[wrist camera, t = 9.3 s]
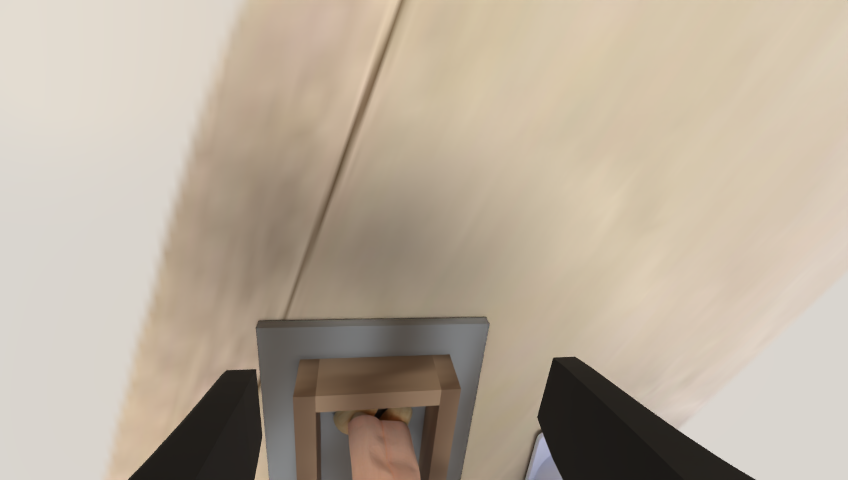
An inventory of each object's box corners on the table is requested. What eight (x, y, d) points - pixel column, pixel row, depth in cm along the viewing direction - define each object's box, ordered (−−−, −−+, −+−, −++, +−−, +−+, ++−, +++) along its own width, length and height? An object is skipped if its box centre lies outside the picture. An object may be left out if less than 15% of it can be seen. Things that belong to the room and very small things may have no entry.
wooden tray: (486, 317, 22) (506, 355, 19) (452, 505, 28) (463, 555, 25) (258, 321, 20) (242, 364, 17) (275, 524, 26) (265, 581, 23)
